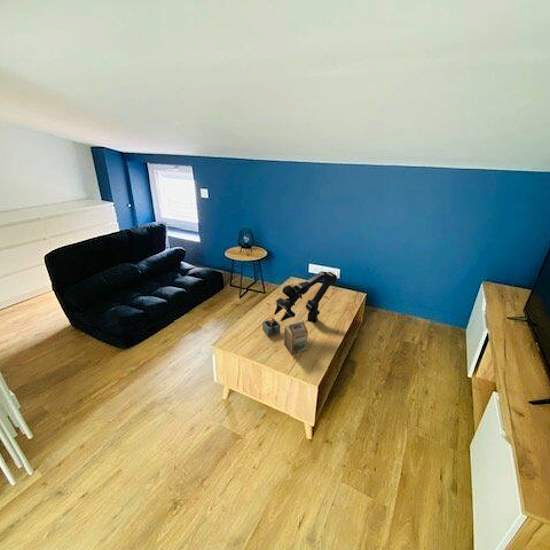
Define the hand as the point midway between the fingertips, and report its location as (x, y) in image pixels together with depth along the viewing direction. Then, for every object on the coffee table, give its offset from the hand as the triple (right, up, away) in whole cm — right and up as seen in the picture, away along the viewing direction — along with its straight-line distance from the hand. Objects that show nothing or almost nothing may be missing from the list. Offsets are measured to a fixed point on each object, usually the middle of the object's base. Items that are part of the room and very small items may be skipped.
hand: (277, 317), depth 200 cm
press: (-4, -10, +1) cm, 11 cm away
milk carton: (+11, -17, -14) cm, 25 cm away
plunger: (-4, -10, +2) cm, 11 cm away
